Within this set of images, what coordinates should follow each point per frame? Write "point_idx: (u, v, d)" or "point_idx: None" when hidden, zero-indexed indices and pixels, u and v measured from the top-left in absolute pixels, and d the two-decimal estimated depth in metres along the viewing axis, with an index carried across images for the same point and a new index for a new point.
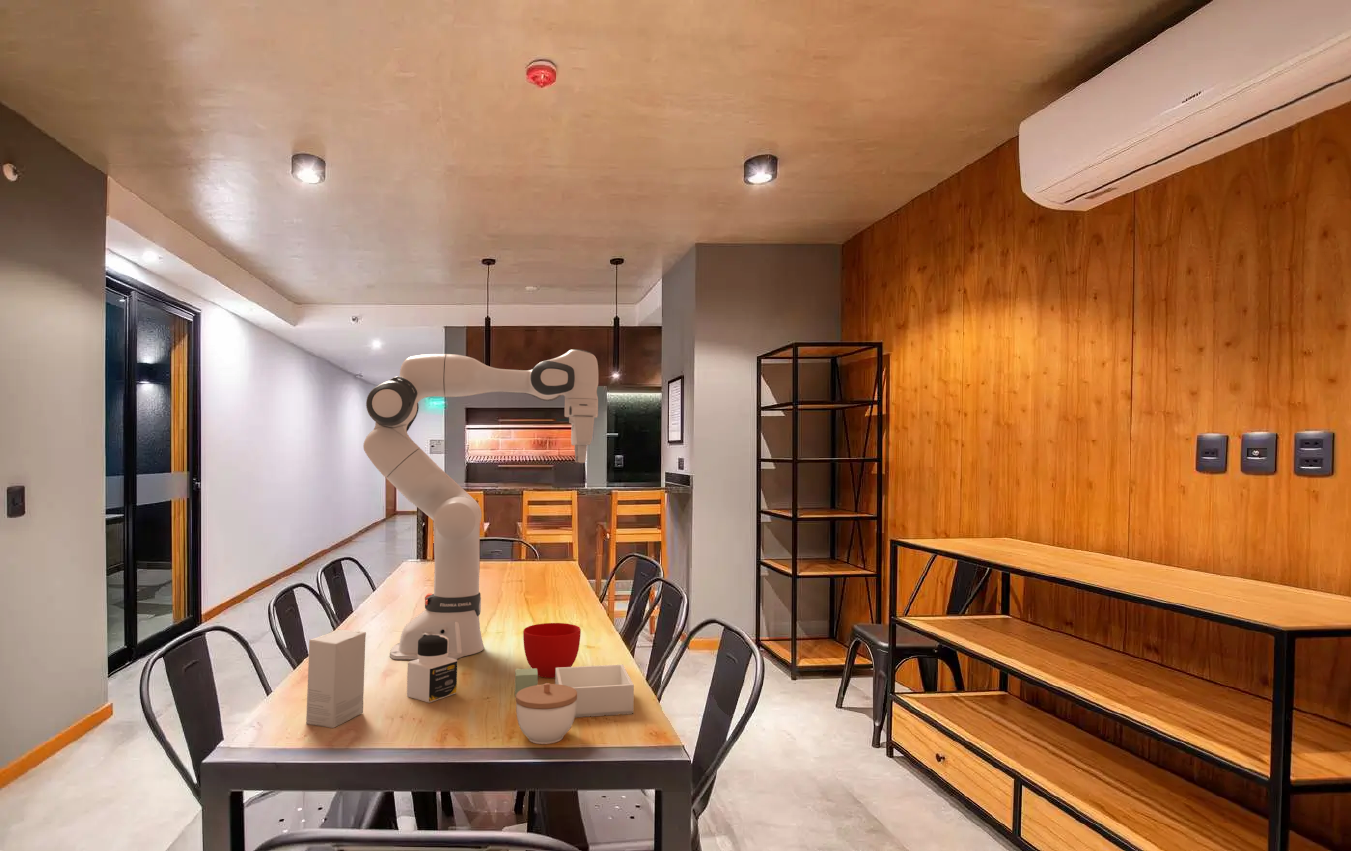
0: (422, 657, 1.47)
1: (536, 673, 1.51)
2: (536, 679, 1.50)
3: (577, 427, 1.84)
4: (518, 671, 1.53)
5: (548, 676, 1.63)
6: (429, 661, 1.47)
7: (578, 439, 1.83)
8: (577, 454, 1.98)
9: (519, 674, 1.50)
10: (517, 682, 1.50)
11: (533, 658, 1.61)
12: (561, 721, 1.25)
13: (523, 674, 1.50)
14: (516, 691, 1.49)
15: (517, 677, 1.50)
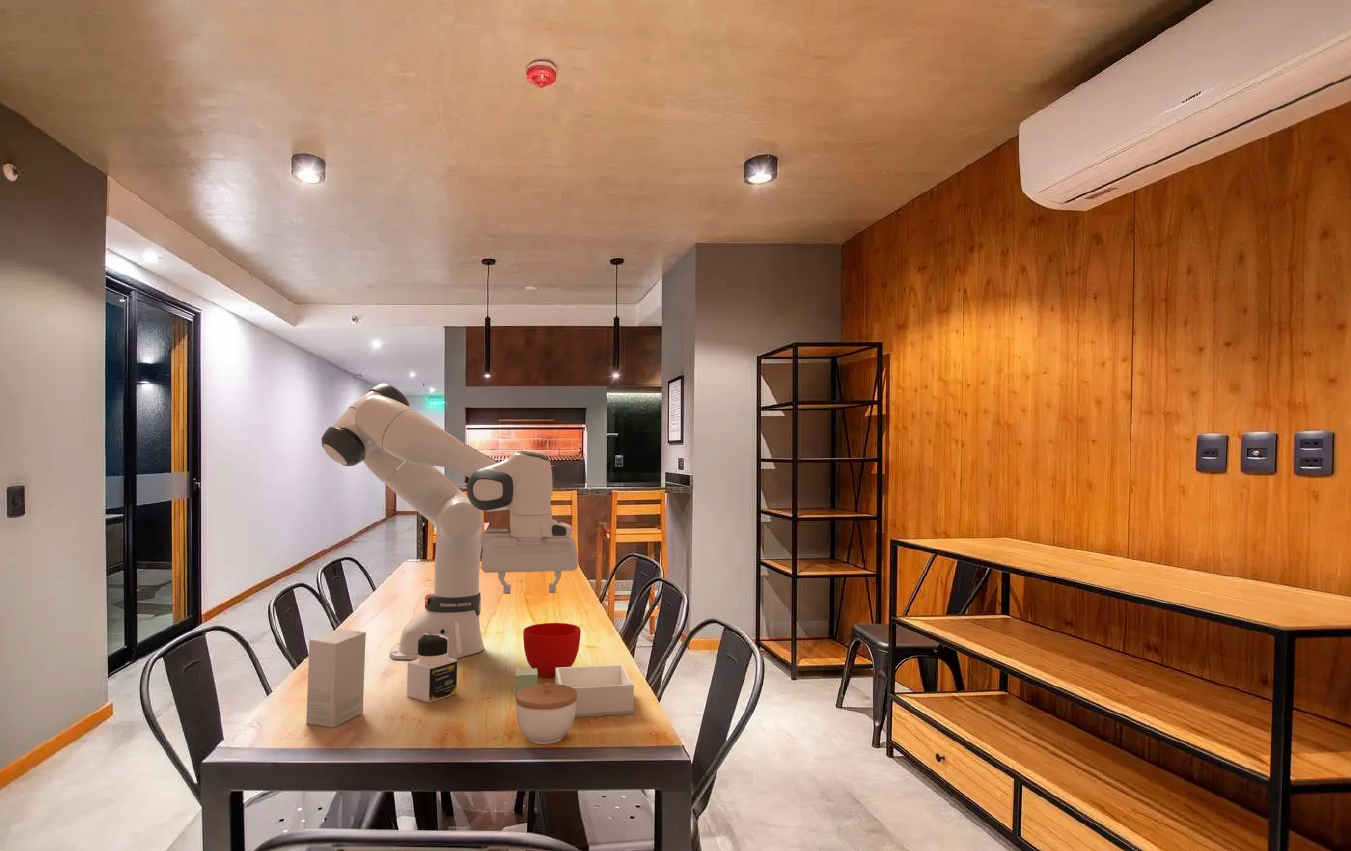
0: (422, 657, 1.47)
1: (536, 673, 1.51)
2: (536, 679, 1.50)
3: (576, 550, 1.55)
4: (518, 671, 1.53)
5: (548, 676, 1.63)
6: (429, 661, 1.47)
7: None
8: (505, 583, 1.53)
9: (518, 674, 1.50)
10: (517, 682, 1.50)
11: (533, 658, 1.61)
12: (561, 721, 1.25)
13: (523, 674, 1.50)
14: (516, 691, 1.49)
15: (517, 677, 1.50)
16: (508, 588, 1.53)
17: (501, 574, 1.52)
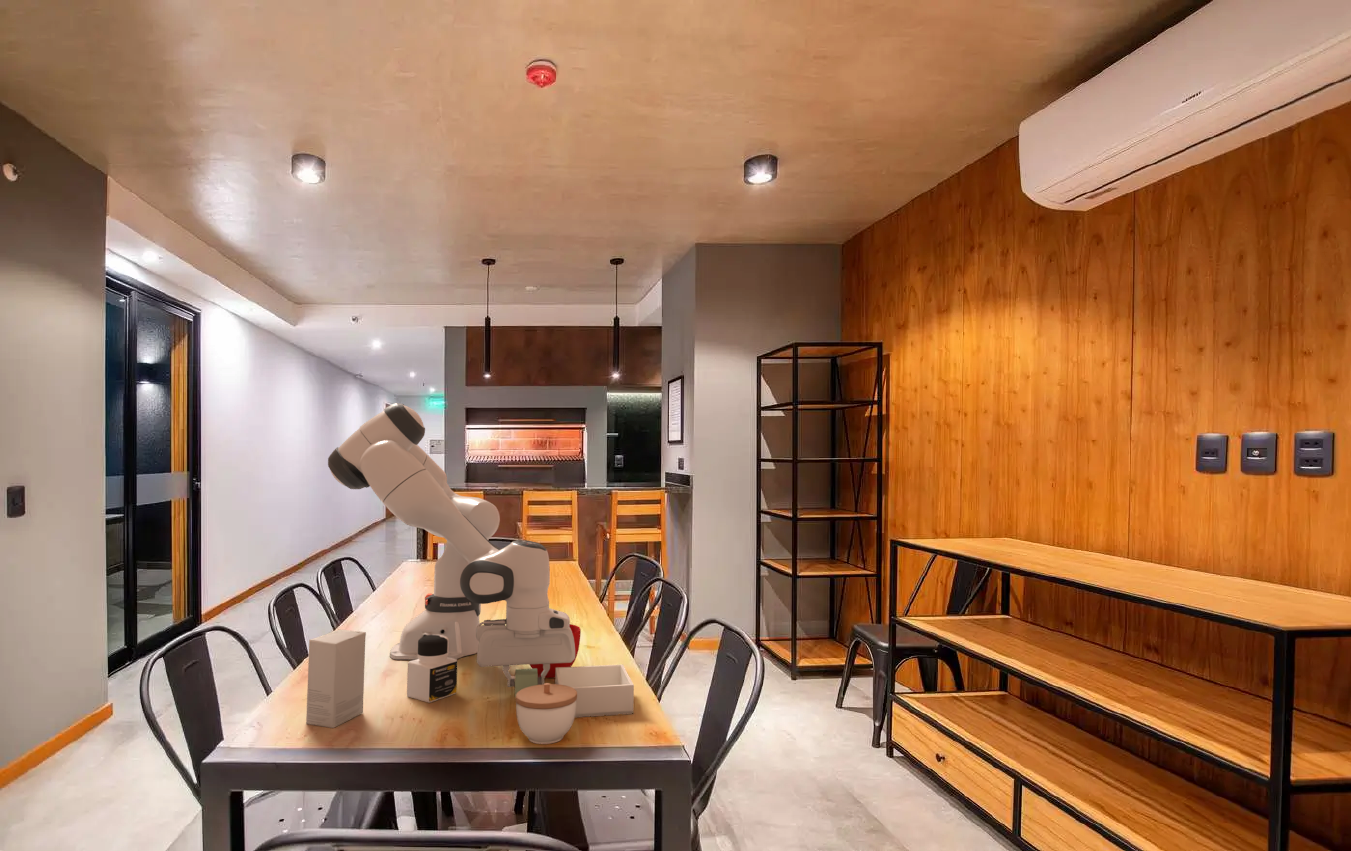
0: (422, 657, 1.47)
1: (536, 673, 1.51)
2: (536, 679, 1.50)
3: None
4: (518, 671, 1.53)
5: (548, 676, 1.63)
6: (429, 661, 1.47)
7: None
8: (510, 676, 1.51)
9: (518, 674, 1.50)
10: (517, 682, 1.50)
11: None
12: (561, 721, 1.25)
13: (523, 674, 1.50)
14: (516, 691, 1.49)
15: (517, 677, 1.50)
16: (512, 681, 1.51)
17: (505, 667, 1.50)
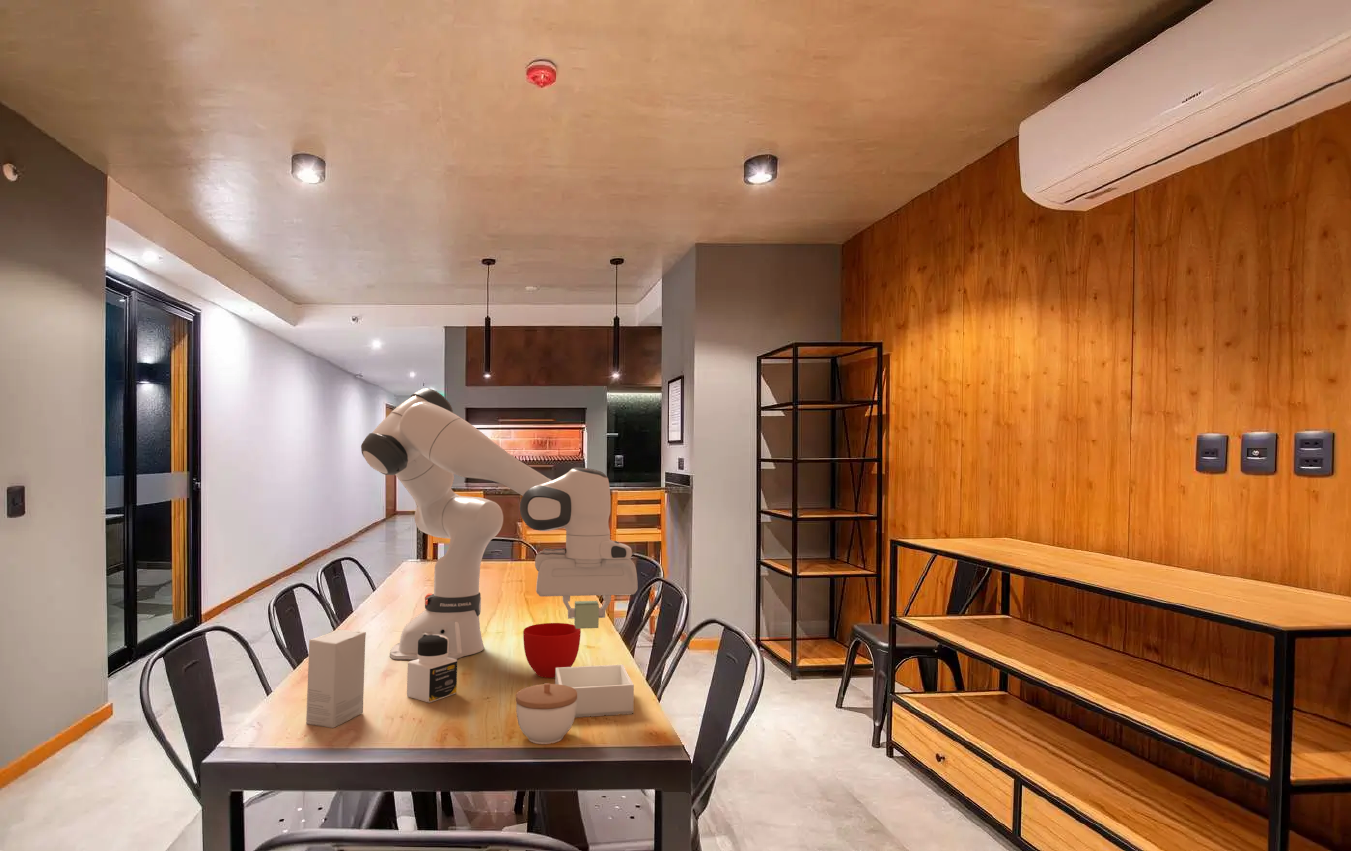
0: (422, 657, 1.47)
1: (597, 604, 1.45)
2: (597, 610, 1.44)
3: (636, 573, 1.46)
4: (578, 602, 1.46)
5: (548, 676, 1.63)
6: (429, 661, 1.47)
7: (637, 587, 1.47)
8: (570, 607, 1.45)
9: (579, 605, 1.44)
10: (577, 612, 1.43)
11: (533, 658, 1.61)
12: (561, 721, 1.25)
13: (583, 605, 1.44)
14: (577, 622, 1.43)
15: (578, 607, 1.43)
16: (573, 612, 1.45)
17: (566, 598, 1.44)
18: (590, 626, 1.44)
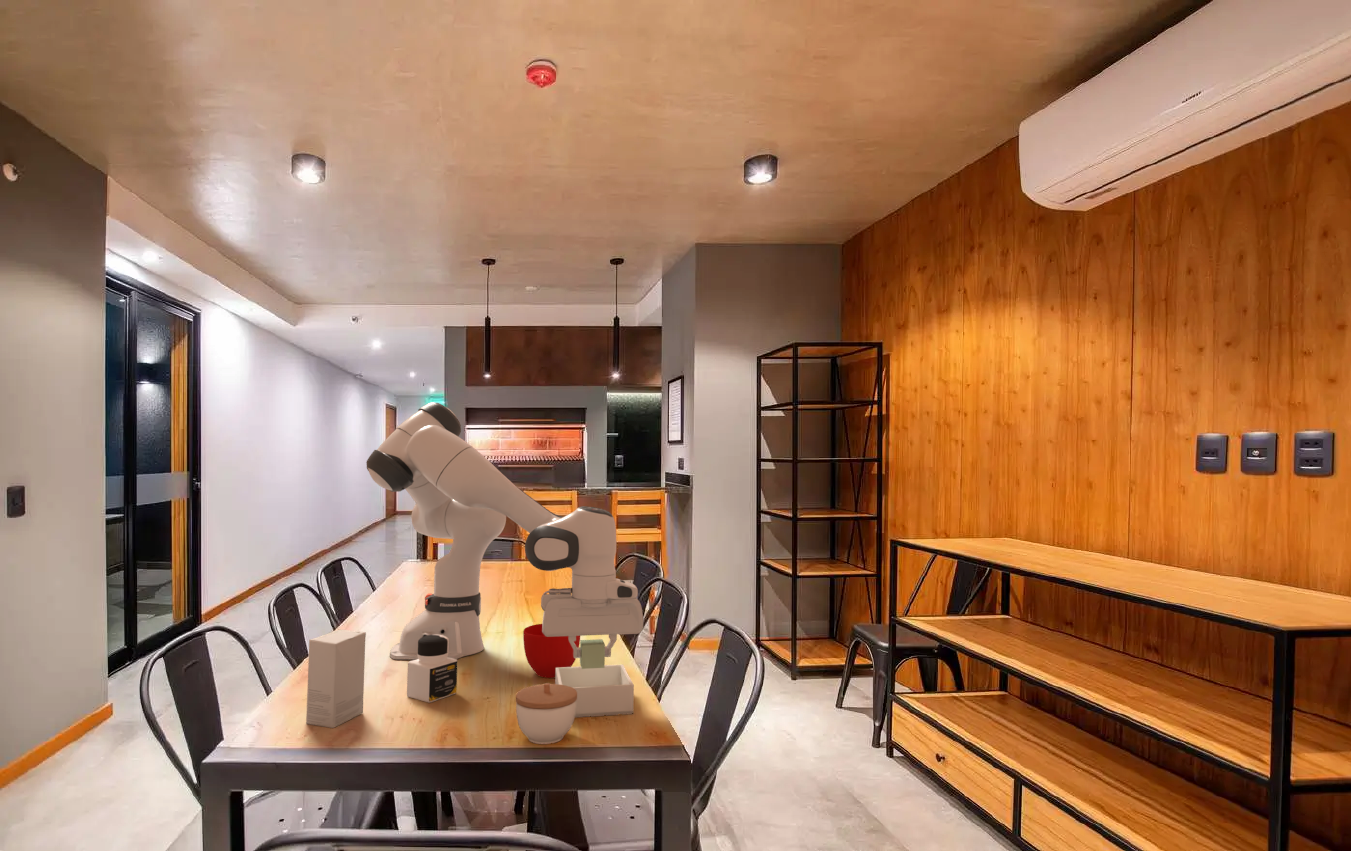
0: (422, 657, 1.47)
1: (603, 643, 1.45)
2: (603, 649, 1.44)
3: None
4: (584, 641, 1.47)
5: (548, 676, 1.63)
6: (429, 661, 1.47)
7: (642, 626, 1.47)
8: (576, 647, 1.45)
9: (585, 644, 1.44)
10: (584, 652, 1.44)
11: (533, 658, 1.61)
12: (561, 721, 1.25)
13: (589, 645, 1.44)
14: (583, 662, 1.43)
15: (584, 647, 1.44)
16: (579, 652, 1.45)
17: (572, 637, 1.44)
18: (596, 666, 1.44)
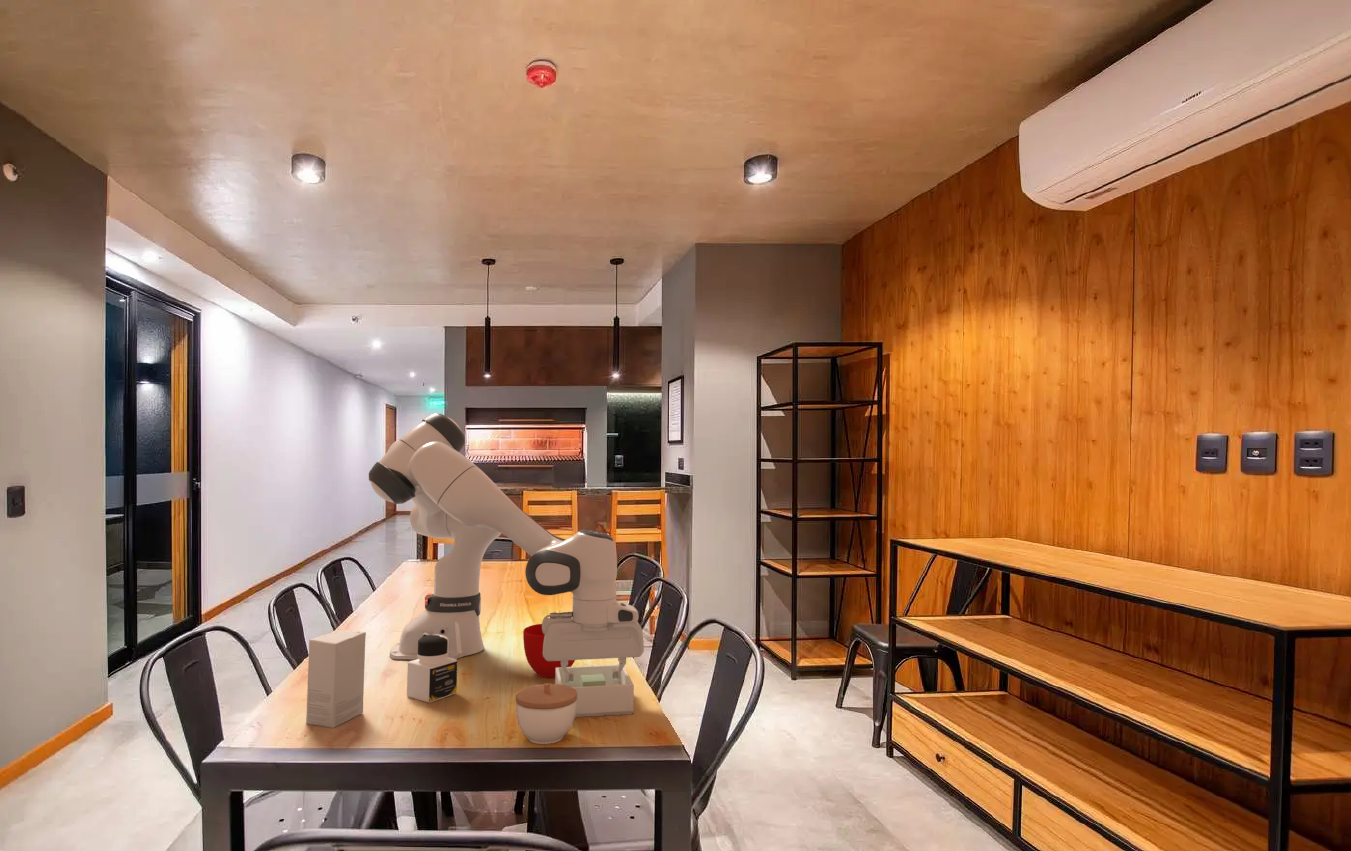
0: (422, 657, 1.47)
1: (603, 679, 1.45)
2: None
3: (642, 635, 1.47)
4: (584, 677, 1.47)
5: (548, 676, 1.63)
6: (429, 661, 1.47)
7: (643, 650, 1.47)
8: (568, 671, 1.45)
9: (586, 680, 1.44)
10: None
11: (533, 658, 1.61)
12: (561, 721, 1.25)
13: (590, 681, 1.44)
14: None
15: (584, 684, 1.44)
16: (571, 676, 1.45)
17: (564, 662, 1.44)
18: None
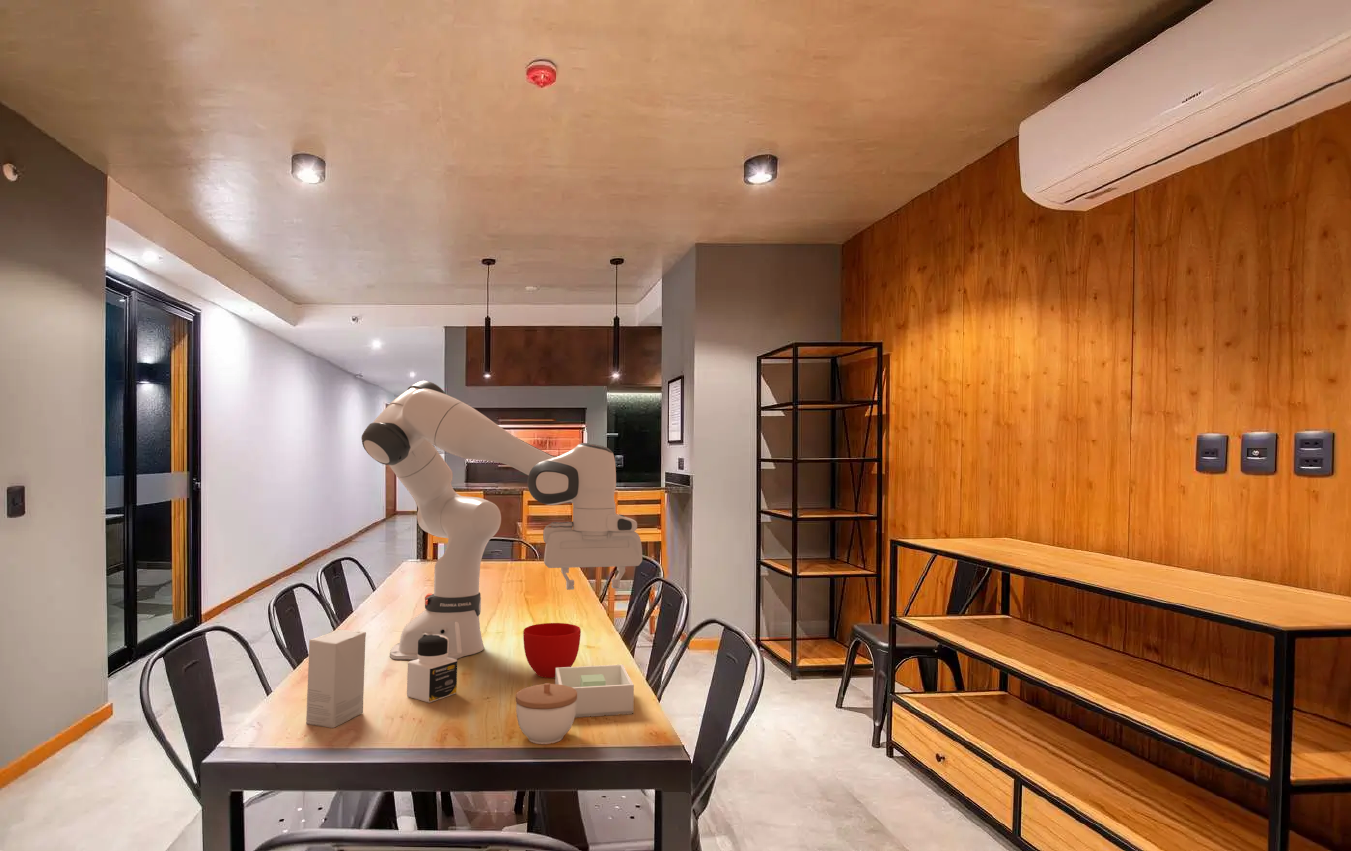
0: (422, 657, 1.47)
1: (603, 679, 1.45)
2: None
3: (641, 545, 1.52)
4: (584, 677, 1.47)
5: (548, 676, 1.63)
6: (429, 661, 1.47)
7: None
8: None
9: (586, 680, 1.44)
10: None
11: (533, 658, 1.61)
12: (561, 721, 1.25)
13: (590, 681, 1.44)
14: None
15: (584, 684, 1.44)
16: (572, 584, 1.49)
17: (565, 569, 1.48)
18: None
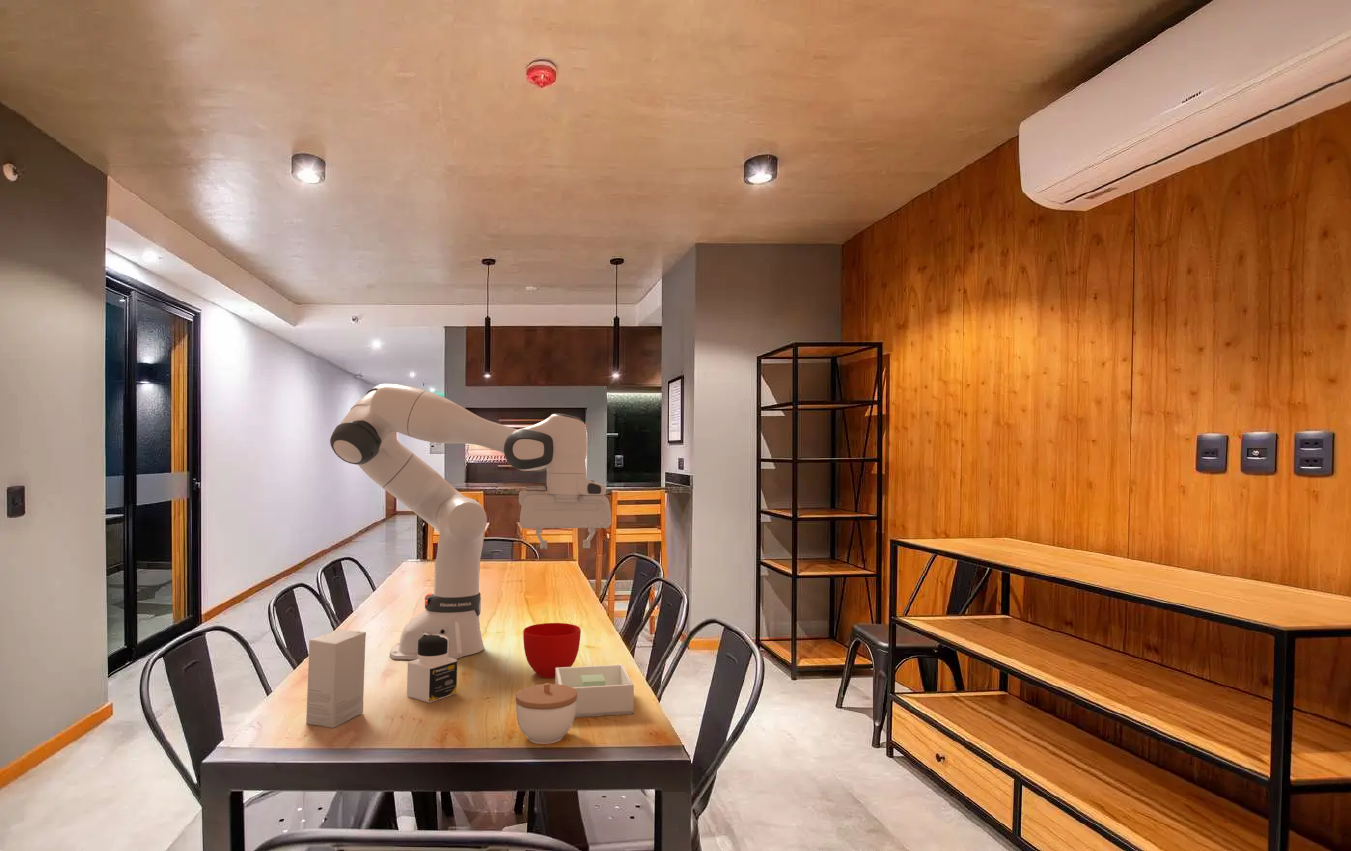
0: (422, 657, 1.47)
1: (603, 679, 1.45)
2: None
3: (610, 508, 1.63)
4: (584, 677, 1.47)
5: (548, 676, 1.63)
6: (429, 661, 1.47)
7: None
8: (542, 539, 1.60)
9: (586, 680, 1.44)
10: None
11: (533, 658, 1.61)
12: (561, 721, 1.25)
13: (590, 681, 1.44)
14: None
15: (584, 684, 1.44)
16: (545, 543, 1.60)
17: (538, 530, 1.60)
18: None
